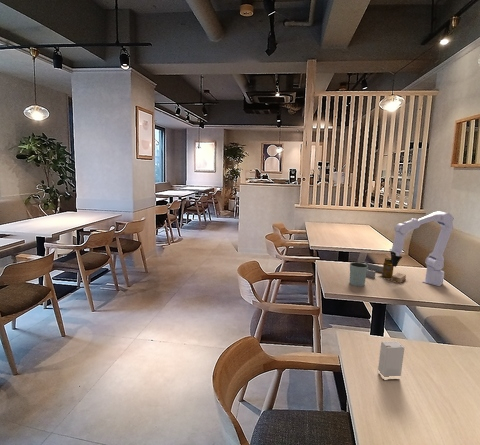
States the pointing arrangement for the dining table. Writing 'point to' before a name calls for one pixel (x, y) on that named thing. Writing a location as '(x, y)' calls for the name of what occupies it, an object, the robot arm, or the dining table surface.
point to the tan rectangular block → (398, 277)
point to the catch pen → (374, 268)
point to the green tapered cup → (358, 273)
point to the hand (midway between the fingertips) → (393, 264)
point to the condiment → (387, 269)
